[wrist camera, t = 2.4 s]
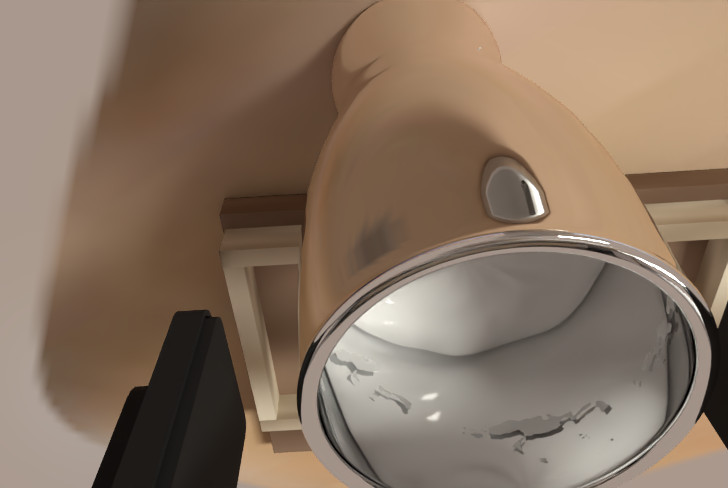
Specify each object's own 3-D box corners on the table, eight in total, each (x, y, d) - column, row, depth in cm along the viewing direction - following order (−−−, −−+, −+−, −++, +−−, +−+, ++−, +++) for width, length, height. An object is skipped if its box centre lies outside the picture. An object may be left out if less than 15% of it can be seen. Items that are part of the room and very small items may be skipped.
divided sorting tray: (224, 198, 24) (212, 235, 22) (734, 167, 24) (773, 202, 22) (276, 434, 33) (271, 477, 31) (652, 413, 33) (675, 456, 30)
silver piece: (454, 188, 24) (564, 557, 12) (292, 126, 23) (227, 481, 10) (550, 26, 21) (845, 315, 8) (365, -62, 19) (398, 140, 7)
